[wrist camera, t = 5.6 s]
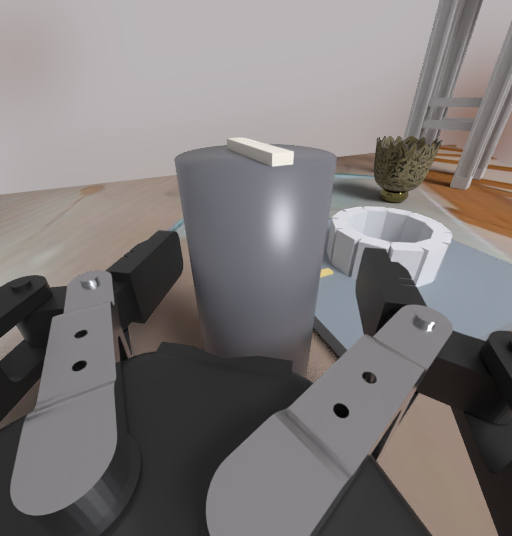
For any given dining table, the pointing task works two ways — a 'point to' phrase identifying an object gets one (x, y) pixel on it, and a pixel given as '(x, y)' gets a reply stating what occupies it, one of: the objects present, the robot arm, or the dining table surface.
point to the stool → (443, 84)
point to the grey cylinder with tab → (256, 244)
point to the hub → (420, 268)
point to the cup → (402, 165)
